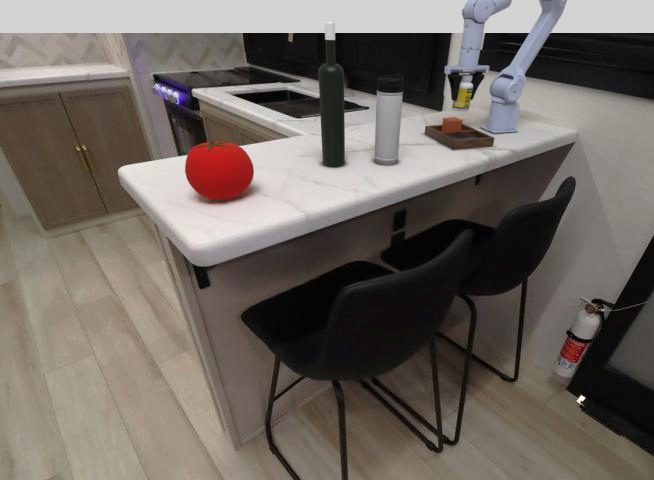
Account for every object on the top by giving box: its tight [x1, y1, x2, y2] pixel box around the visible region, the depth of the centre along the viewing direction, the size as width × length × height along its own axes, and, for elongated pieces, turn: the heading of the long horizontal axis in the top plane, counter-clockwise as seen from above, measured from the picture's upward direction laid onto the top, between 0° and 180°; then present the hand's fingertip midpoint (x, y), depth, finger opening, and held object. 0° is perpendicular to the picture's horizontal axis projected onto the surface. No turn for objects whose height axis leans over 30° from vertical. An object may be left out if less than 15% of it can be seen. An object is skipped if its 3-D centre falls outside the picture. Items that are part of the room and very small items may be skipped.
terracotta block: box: [441, 116, 464, 133], centre depth 120 cm, size 4×4×4 cm
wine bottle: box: [318, 19, 346, 168], centre depth 89 cm, size 6×6×30 cm
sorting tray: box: [424, 122, 495, 151], centre depth 118 cm, size 14×18×2 cm
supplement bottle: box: [451, 73, 473, 112], centre depth 119 cm, size 5×5×10 cm
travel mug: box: [373, 73, 405, 166], centre depth 95 cm, size 6×7×20 cm
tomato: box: [184, 140, 255, 201], centre depth 77 cm, size 12×13×11 cm
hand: (462, 99), depth 120 cm, fingers closed on supplement bottle, 5 cm apart
